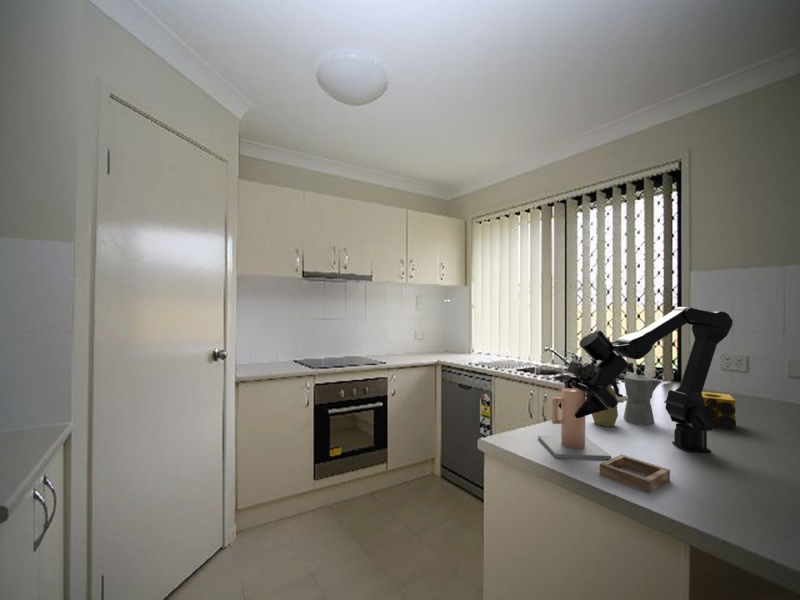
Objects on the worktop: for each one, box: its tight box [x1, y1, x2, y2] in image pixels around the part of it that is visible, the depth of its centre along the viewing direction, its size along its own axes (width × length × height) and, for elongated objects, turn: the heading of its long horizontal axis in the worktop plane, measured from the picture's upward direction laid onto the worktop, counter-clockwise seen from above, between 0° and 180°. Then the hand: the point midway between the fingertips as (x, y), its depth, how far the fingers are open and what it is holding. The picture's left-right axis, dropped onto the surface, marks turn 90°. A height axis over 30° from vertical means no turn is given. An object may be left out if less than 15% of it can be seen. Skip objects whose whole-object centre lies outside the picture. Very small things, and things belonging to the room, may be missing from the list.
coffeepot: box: [612, 368, 663, 426], centre depth 129 cm, size 15×9×18 cm, turn 44°
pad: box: [537, 435, 612, 460], centre depth 102 cm, size 14×14×1 cm
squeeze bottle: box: [591, 385, 619, 427], centre depth 125 cm, size 8×8×18 cm
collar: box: [598, 454, 671, 494], centre depth 85 cm, size 10×10×2 cm
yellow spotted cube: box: [702, 391, 737, 431], centre depth 126 cm, size 10×10×10 cm
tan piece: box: [551, 387, 586, 449], centre depth 103 cm, size 9×6×15 cm
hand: (567, 412), depth 103 cm, fingers open, 9 cm apart
